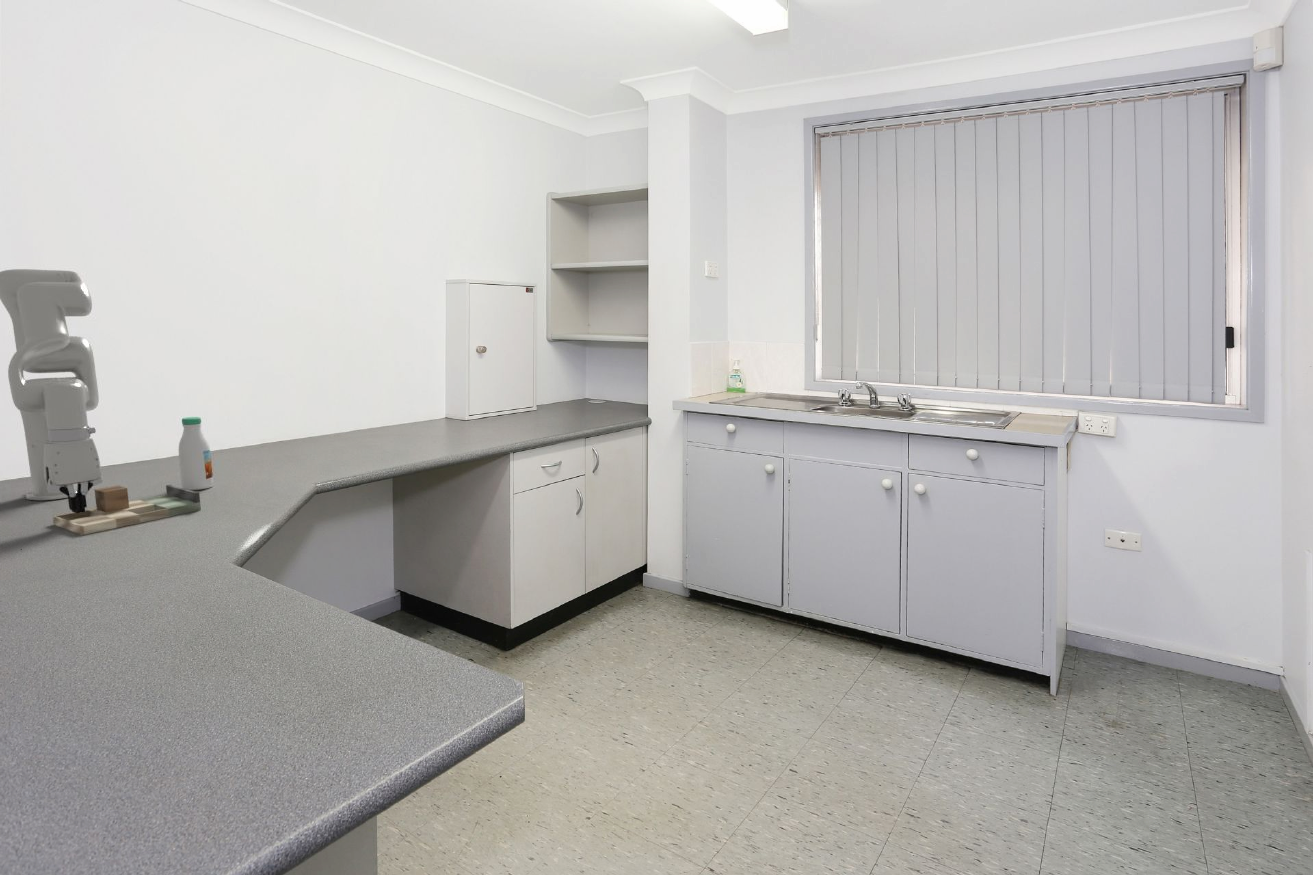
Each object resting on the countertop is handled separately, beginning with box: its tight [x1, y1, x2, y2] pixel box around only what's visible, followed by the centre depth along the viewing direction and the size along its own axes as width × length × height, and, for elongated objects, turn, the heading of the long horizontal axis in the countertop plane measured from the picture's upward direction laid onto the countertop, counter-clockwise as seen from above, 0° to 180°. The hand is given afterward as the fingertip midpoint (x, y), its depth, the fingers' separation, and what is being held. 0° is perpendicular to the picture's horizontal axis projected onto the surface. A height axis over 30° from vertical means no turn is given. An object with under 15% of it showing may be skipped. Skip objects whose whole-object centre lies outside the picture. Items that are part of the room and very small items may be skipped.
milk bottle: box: [178, 416, 214, 491], centre depth 217 cm, size 8×8×20 cm
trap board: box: [52, 484, 202, 536], centre depth 188 cm, size 15×26×4 cm, turn 148°
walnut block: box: [94, 485, 130, 512], centre depth 188 cm, size 5×5×5 cm
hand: (78, 511), depth 182 cm, fingers closed
